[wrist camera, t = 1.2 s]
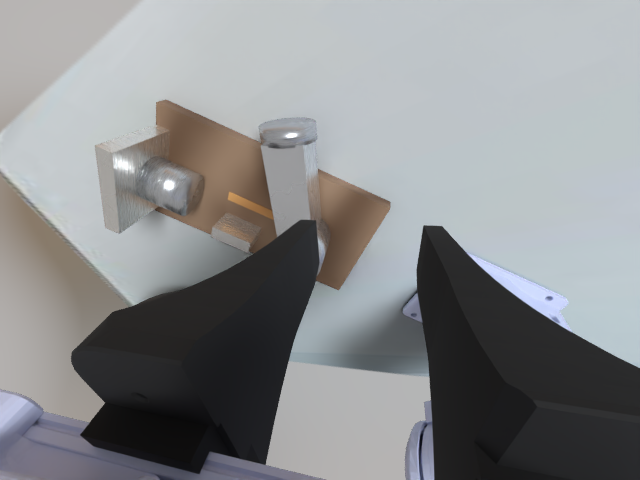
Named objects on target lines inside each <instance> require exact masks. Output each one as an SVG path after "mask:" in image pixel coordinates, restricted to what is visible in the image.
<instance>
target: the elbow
mask: <svg viewBox="0 0 640 480" xmlns="http://www.w3.org/2000/svg"><path fill="white" fill-rule="evenodd" d="M259 132H260V138H261V143H262V145H261V151H262V156H263V162H264V167H265V173H266V178H267V184H268V189H269V195H270V200H271V206H272V211H273V217H274V222H275V228H276V233H277V237H278V236H280V235H281V234H282V233H283V232H285V231H286V230H287V229H289V228H290V227H291V226H293V225H294V224H295V223H297V222H298V221H299V220H316V225H317V236H318V248H319V260H320V263H319V268H318V273H317V276H318V274H319V272H320V270H321V266H322V263H323V260H324V257H325V254H326V251H327V248H328V245H329V241H330V238H331V233H330V229H329V226H328V225H327V223H326V222H325V221H324V220H323V219H322V218H321V207H320V193H319V180H318V166H317V153H316V140H317V129H316V121H315V120H314V119H310V118H284V119H277V120H272V121H268V122H265V123H263V124H261V125H259Z"/></svg>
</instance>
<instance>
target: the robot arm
mask: <svg viewBox="0 0 640 480" xmlns="http://www.w3.org/2000/svg"><path fill="white" fill-rule="evenodd" d="M319 263H320V260H319V248H318V236H317V225H316V220H299V221H298V222H297V223H295V224H294V225H293V226H291V227H290V228H289V229H287V230H286V231H285V232H283V233H282V234H281V235H280V236H278V237H277V238H276V239H274V240H273V241H272V242H270V243H269V244H267V245H266V246H264V247H263V248H262V249H260V250H259V251H257V252H256V253H254V254H253V255H251V256H250V257H248V258H247V259H245V260H243V261H242V262H240V263H238V264H236V265H235V266H233V267H231V268H229V269H227V270H225V271H223V272H221V273H220V274H217V275H215V276H213V277H211V278H209V279H206V280H204V281H202V282H200V283H198V284H195V285H193V286H191V287H188V288H186V289H183V290H180V291H178V292H175V293H172V294H169V295H167V296H164V297H161V298H158V299H155V300H152V301H148V302H145V303H142V304H138V305H135V306H132V307H128V308H125V309H121V310H118V311H114V312H112V313H111V314H110V315H109V316H108V317H107V318H106V319H105V320H104V321H103V322H102V323H101V324H100V325H99V326H98V327H97V328H96V329H95V330H94V331H93V332H92V333H91V334H90V335H89V336H88V337H87V338H86V339H85V340H84V341H83V342H82V343H81V344H80V345H79V346H78V347H77V348H75V349H74V350H73V351H72V356H71V362H72V365H73V367H74V369H75V370H76V372H77V373H78V374H79V375H80V377H81V378H82V379H83V380H84V381H85V382H86V383H87V384H88V385H89V386H90V387H91V388H92V389H93V390H94V391H95V393H97V395H98V396H99V397H100V398H101V399H102V400H103V401H104V402H105V404H104V405H103V407H102V408H101V409H100V410H99V412H98V413H97V414H96V415H95V417H94V418H93V419H92V420H91V422H90V423H89V422H85V421H81V420H77V419H73V418H68V417H64V416H60V415H56V414H52V413H48V412H44V411H43V408H42V407H41V406H40V405H38V404H37V403H36V402H35V401H33V400H32V399H30V398H28V397H26V396H24V395H21V394H18V393H14V392H10V391H6V390H1V389H0V480H325V479H321V478H317V477H313V476H308V475H304V474H300V473H296V472H292V471H288V470H283V469H279V468H275V467H271V466H267V465H266V459H267V454H268V449H269V445H270V439H271V435H272V430H273V425H274V420H275V416H276V411H277V407H278V403H279V398H280V394H281V389H282V385H283V381H284V377H285V373H286V369H287V364H288V361H289V357H290V353H291V350H292V346H293V342H294V339H295V336H296V333H297V330H298V327H299V325H300V322H301V319H302V317H303V314H304V312H305V309H306V306H307V304H308V301H309V298H310V296H311V293H312V290H313V288H314V285H315V281H316V277H317V273H318V268H319ZM547 296H549V297H547ZM567 305H568V300H567V299H566V298H565V297H564V296H562V295H559V294H557V293H555V292H553V291H551V290H548V289H546V288H544V287H542V286H540V285H537V284H535V283H533V282H531V281H529V280H526V279H524V278H522V277H520V276H518V275H515V274H513V273H511V272H509V271H507V270H504V269H502V268H500V267H498V266H496V265H493V264H491V263H489V262H487V261H484V260H482V259H480V258H478V257H476V256H473V255H471V254H469V253H467V252H465V251H464V250H463V249H462V248H461V247H460V246H459V244H458V243H457V242H456V241H455V240H454V239H453V238H452V237H451V236H450V235H449V233H448V232H447V231H446V230H445V229H444V228H443V227H442V226H425V225H424V227H423V233H422V239H421V245H420V252H419V258H418V264H417V293H416V294H415V295H414V297H413V298H412V299H411V300H410V301H409V302H408V303H407V304H406V305H405V307H404V308H403V314H404V315H406V316H408V317H410V318H412V319H415V320H417V321H419V322H421V323H423V329H424V335H425V340H426V346H427V353H428V361H429V376H430V391H431V401H426V402H424V405H425V416H426V421H420V422H418V423H416V424H415V425H414V427H413V429H412V431H411V434H410V438H409V441H408V443H407V447H406V454H405V476H406V480H640V368H638V367H636V366H634V365H632V364H630V363H628V362H626V361H624V360H622V359H620V358H618V357H616V356H614V355H612V354H610V353H608V352H606V351H604V350H603V349H601V348H599V347H597V346H595V345H594V344H592V343H590V342H588V341H586V340H584V339H583V338H581V337H579V336H577V335H576V334H574V333H573V332H572V331H571V329H570V327H569V326H568V324H567V323H566V321H565V319H564V318H563V316H562V314H561V313H560V310H561V309H563V308H564V307H566V306H567ZM413 313H415V314H413Z"/></svg>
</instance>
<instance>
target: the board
mask: <svg viewBox="0 0 640 480" xmlns="http://www.w3.org/2000/svg"><path fill="white" fill-rule="evenodd" d="M156 124H157V125H159V126H161V127H163V128H165V129H168V130H170V137H169V161H172V162H174V163H176V164H178V165H181V166H183V167H185V168H187V169H190V170H192V171H194V172H196V173H199V174H201V175H202V176H203V178H204V189H203V193H202V196H201V198H200V200H199V202H198V204H197V206H196V207H195V208H194V210H193V211H192V212H191V213H189V214H188V215H186V216H181V215H179V214H176V213H174V212H172V211H170V210H167V209H165V208H163V207H160V206H159V207H157V208H156V209H155V210H156V211H158V212H161V213H163V214H165V215H167V216H170V217H172V218H174V219H177V220H179V221H181V222H183V223H186V224H188V225H190V226H193V227H195V228H197V229H200V230H202V231H204V232H206V233H209V234H211V233H212V227H213V226H214V225H215V224H216V223H217V222H218V221H219V220H220V219H221V218H222V217H223V216H224V215H225V214H226V213H229V214H231V215H234V216H236V217H238V218H240V219H243V220H245V221H247V222H249V223H252V224H254V225H256V226H259V227H261V232H260V235H259V237H258V239H257V240H256V242H255V243H254V245H253V246H252V248H251V249H250V252H252V253H256V252H257V251H259V250H260V249H262V248H263V247H264V246H266V245H267V244H269V243H270V242H272V241H273V240H274V239H276V238H277V233H276V228H275V222H274V217H273V211H272V206H271V200H270V195H269V189H268V184H267V178H266V173H265V167H264V162H263V156H262V151H261V145H262V143H260V142H258V141H255V140H253V139H251V138H249V137H247V136H245V135H242V134H240V133H238V132H236V131H234V130H231V129H229V128H227V127H225V126H223V125H220V124H218V123H216V122H214V121H212V120H209V119H207V118H205V117H203V116H201V115H198V114H196V113H194V112H192V111H190V110H188V109H185V108H183V107H181V106H179V105H177V104H174V103H172V102H170V101H168V100H163V101H159V102H156ZM318 180H319V193H320V207H321V218H322V219H323V220H324V221H325V222H326V223H327V225H328V226H329V229H330V233H331V238H330V241H329V245H328V248H327V251H326V254H325V257H324V260H323V263H322V266H321V270H320V272H319V274H318V276H317V277H316V281H319V282H321V283H323V284H326V285H328V286H330V287H332V288H335V289H337V290H339V289H340V287H341V286H342V284H343V283H344V281H345V280H346V278H347V276H348V275H349V273H350V272H351V270H352V268H353V267H354V265H355V264H356V262H357V261H358V259H359V257H360V256H361V254H362V253H363V251H364V249H365V248H366V246H367V245H368V243H369V241H370V240H371V238H372V237H373V235H374V234H375V232H376V230H377V229H378V227H379V226H380V224H381V222H382V221H383V219H384V218H385V216H386V215H387V213H388V211H389V210H390V202H389V201H387V200H385V199H383V198H380V197H378V196H376V195H374V194H372V193H369V192H367V191H365V190H363V189H361V188H358V187H356V186H354V185H352V184H350V183H348V182H345V181H343V180H341V179H339V178H337V177H334V176H332V175H330V174H328V173H326V172H323V171H321V170H319V169H318Z"/></svg>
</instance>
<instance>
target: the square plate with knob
mask: <svg viewBox="0 0 640 480" xmlns="http://www.w3.org/2000/svg"><path fill="white" fill-rule="evenodd" d="M169 137H170V130H168V129H165V128H163V127H161V126H159V125H157V124H156V125H153V126H150V127H147V128H144V129H141V130H138V131H135V132H132V133H130V134H127V135H124V136H121V137H118V138H115V139H112V140H109V141H106V142H104V143H101V144H98V145H95V151H96V159H97V167H98V175H99V182H100V190H101V198H102V206H103V214H104V222H105V228H107V229H109V230H111V231H114V232H116V233H118V234H120V233H122V232H123V231H124V230H126V229H127V228H129V227H130V226H132V225H133V224H134V223H136V222H137V221H139V220H140V219H142V218H143V217H144V216H146V215H147V214H149V213H150V212H152V211H153V210H154V209H156V208H157V207H159V206H160V207H163V208H165V209H167V210H170V211H172V212H174V213H176V214H179V215H181V216H186V215H188V214H189V213H191V212H192V211H193V210H194V208H195V207H196V206H197V204H198V202H199V200H200V198H201V196H202V193H203V189H204V178H203V176H202V175H201V174H199V173H196V172H194V171H192V170H190V169H187V168H185V167H183V166H181V165H178V164H176V163H174V162H172V161H169ZM260 232H261V227H259V226H256V225H254V224H252V223H249V222H247V221H245V220H243V219H240V218H238V217H236V216H234V215H231V214H229V213H226V214H225V215H224V216H223V217H222V218H221V219H220V220H219V221H218V222H217V223H216V224H215V225H214V226H213V227H212V233H211V237H212V238H214V239H217V240H219V241H221V242H224V243H226V244H228V245H230V246H233V247H235V248H237V249H240V250H242V251H244V252H247V253H248V252H249V251H250V249H251V248H252V246H253V245H254V243H255V242H256V240H257V239H258V237H259V235H260Z"/></svg>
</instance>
